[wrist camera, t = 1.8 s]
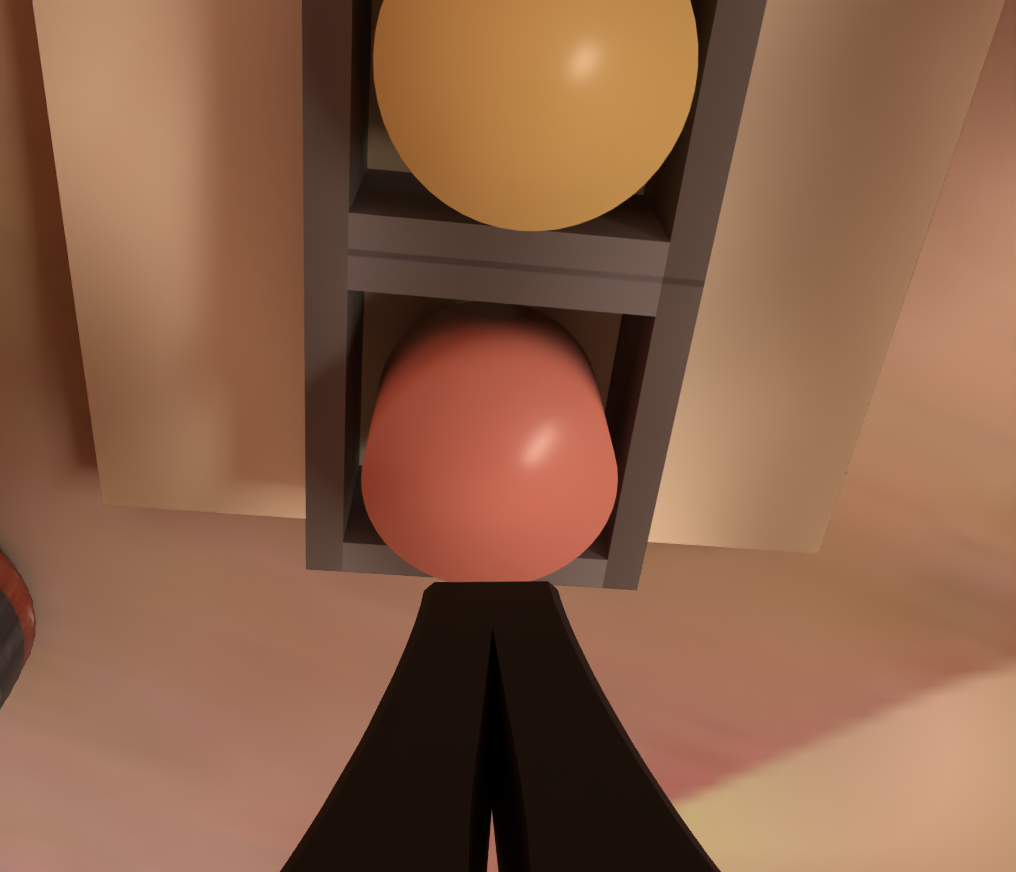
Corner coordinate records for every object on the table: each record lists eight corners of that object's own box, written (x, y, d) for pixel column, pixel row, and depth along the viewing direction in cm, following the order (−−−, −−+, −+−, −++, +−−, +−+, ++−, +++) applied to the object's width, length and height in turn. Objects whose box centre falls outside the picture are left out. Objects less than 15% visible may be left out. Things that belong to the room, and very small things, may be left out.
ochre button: (683, -95, 12) (731, -94, 9) (634, 189, 13) (665, 243, 11) (397, -130, 11) (377, -138, 9) (386, 165, 13) (368, 217, 11)
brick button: (613, 310, 14) (637, 382, 12) (580, 501, 16) (596, 594, 14) (381, 290, 14) (365, 361, 12) (374, 487, 16) (358, 579, 14)
